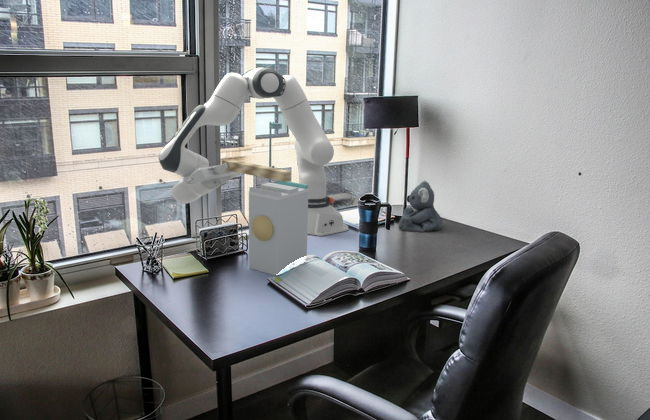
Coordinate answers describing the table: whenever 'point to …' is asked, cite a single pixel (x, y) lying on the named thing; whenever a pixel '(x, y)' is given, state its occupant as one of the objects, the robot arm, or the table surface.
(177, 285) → the table surface
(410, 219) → the koala plush
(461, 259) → the table surface
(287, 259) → the grey box with disc
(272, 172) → the maple shaft
